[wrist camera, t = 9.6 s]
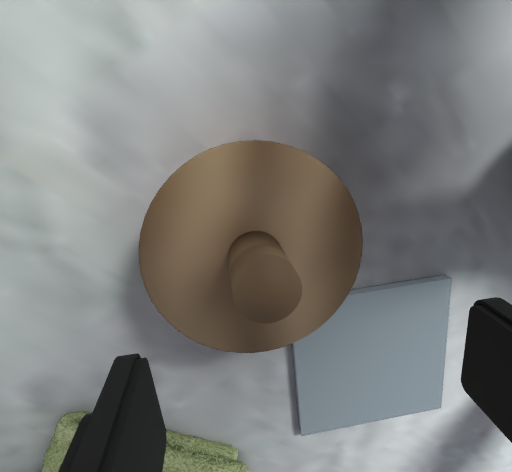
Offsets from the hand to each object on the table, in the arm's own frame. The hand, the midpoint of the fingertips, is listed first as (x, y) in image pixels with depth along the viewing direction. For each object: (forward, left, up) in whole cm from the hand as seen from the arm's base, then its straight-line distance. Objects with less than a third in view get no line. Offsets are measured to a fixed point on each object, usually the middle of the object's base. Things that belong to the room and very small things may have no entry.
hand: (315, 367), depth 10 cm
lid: (0, +1, -11) cm, 11 cm away
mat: (-10, +15, -17) cm, 24 cm away
